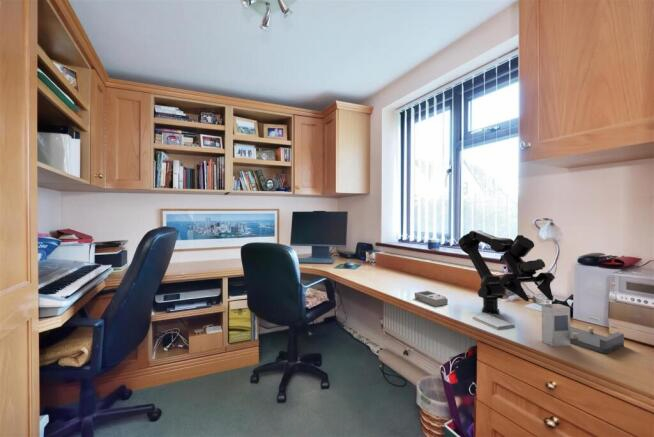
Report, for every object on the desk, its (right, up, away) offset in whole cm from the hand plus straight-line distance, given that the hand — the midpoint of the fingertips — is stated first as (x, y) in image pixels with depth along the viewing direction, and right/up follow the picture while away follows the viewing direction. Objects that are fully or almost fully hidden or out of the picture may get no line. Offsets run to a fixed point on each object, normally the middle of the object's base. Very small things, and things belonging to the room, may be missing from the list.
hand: (539, 300), depth 101 cm
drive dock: (+12, -12, -4) cm, 18 cm away
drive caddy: (+1, -13, -6) cm, 14 cm away
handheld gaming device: (-23, -13, +42) cm, 50 cm away
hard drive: (-9, -13, +13) cm, 21 cm away
